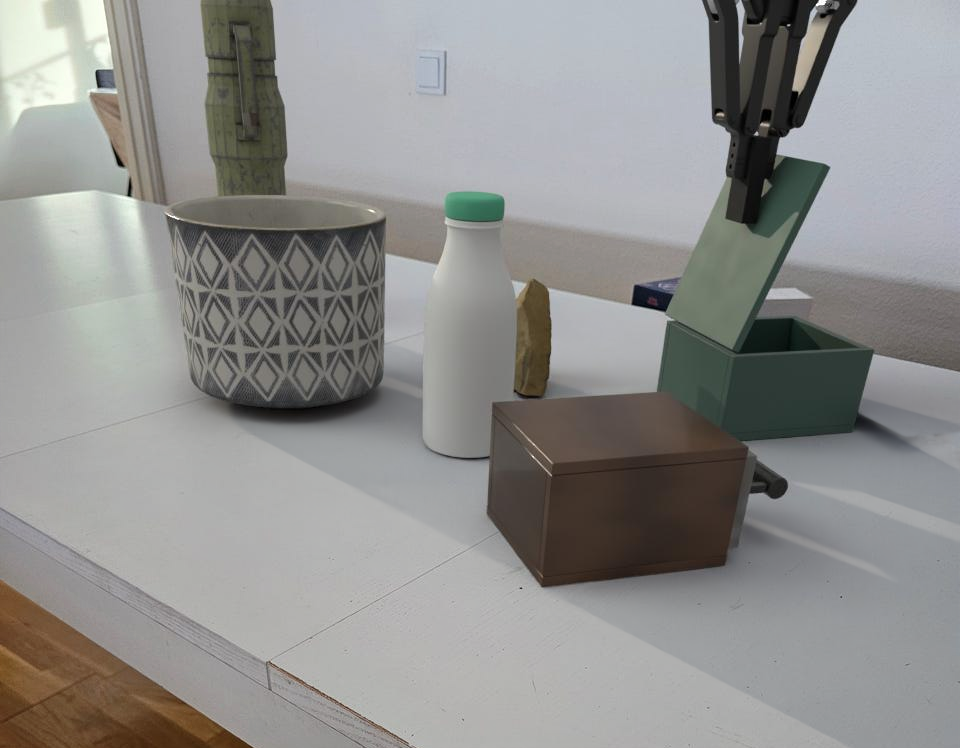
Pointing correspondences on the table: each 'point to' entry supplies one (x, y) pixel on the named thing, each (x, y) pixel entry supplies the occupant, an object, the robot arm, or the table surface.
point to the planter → (280, 297)
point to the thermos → (244, 98)
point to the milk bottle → (468, 329)
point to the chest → (768, 378)
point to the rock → (533, 340)
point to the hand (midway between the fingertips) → (740, 220)
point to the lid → (744, 254)
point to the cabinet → (612, 486)
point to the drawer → (755, 491)
